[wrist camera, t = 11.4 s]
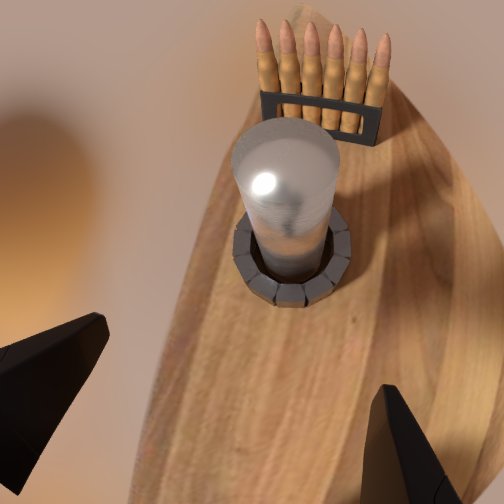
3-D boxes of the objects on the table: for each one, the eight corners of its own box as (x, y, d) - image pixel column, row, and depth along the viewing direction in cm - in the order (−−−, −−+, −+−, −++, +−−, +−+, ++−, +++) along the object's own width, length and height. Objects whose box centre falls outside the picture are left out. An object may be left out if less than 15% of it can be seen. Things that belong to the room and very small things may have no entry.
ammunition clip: (375, 133, 27) (398, 30, 15) (374, 147, 26) (401, 42, 15) (267, 116, 29) (250, 14, 18) (263, 129, 28) (243, 24, 17)
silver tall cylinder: (280, 293, 23) (261, 222, 11) (254, 245, 24) (215, 143, 13) (331, 266, 23) (361, 173, 11) (303, 219, 25) (303, 105, 13)
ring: (269, 327, 22) (266, 323, 20) (222, 235, 25) (215, 222, 23) (365, 274, 22) (372, 264, 20) (311, 190, 25) (312, 174, 23)
